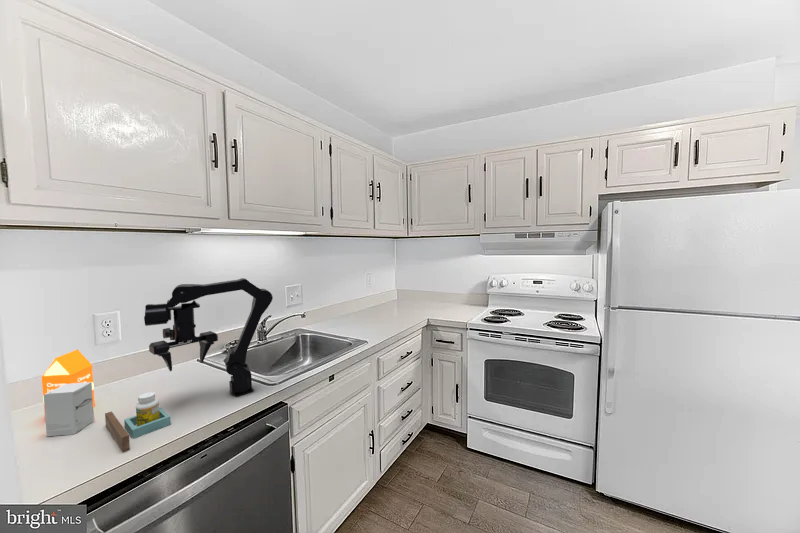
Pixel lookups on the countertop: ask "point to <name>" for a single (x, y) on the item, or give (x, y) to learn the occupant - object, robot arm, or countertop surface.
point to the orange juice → (67, 372)
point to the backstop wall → (117, 431)
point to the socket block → (146, 427)
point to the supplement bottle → (147, 408)
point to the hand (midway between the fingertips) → (186, 366)
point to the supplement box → (68, 408)
